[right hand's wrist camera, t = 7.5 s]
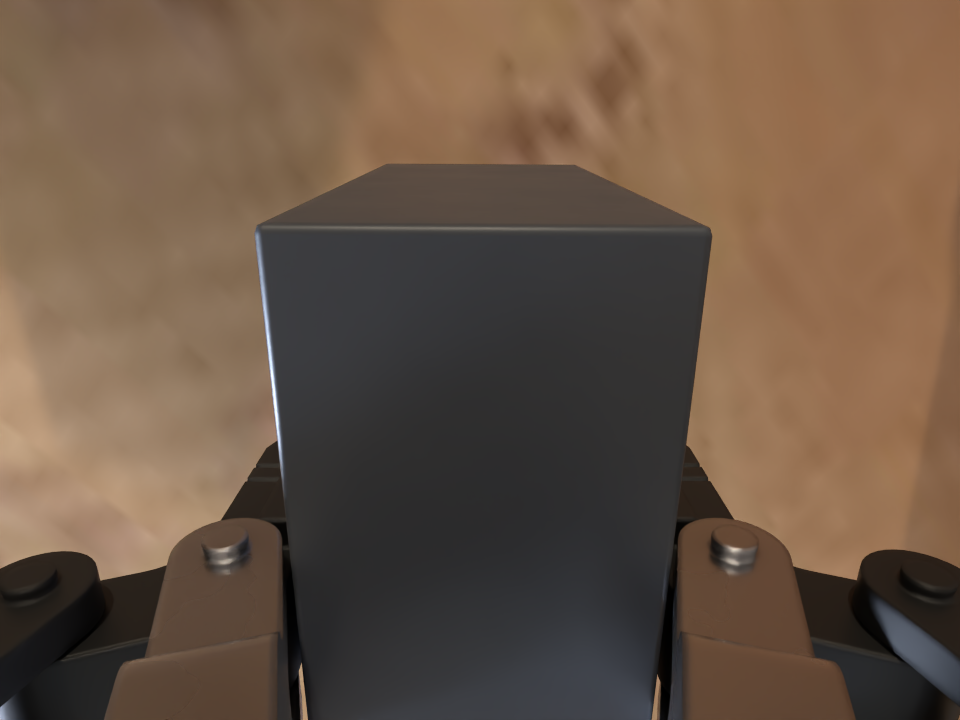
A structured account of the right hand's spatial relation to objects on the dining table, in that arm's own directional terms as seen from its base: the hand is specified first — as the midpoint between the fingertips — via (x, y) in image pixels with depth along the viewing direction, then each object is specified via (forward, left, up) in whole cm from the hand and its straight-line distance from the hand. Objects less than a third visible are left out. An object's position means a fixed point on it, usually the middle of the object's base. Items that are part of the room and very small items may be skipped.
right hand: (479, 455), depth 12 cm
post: (+29, -21, -4) cm, 36 cm away
